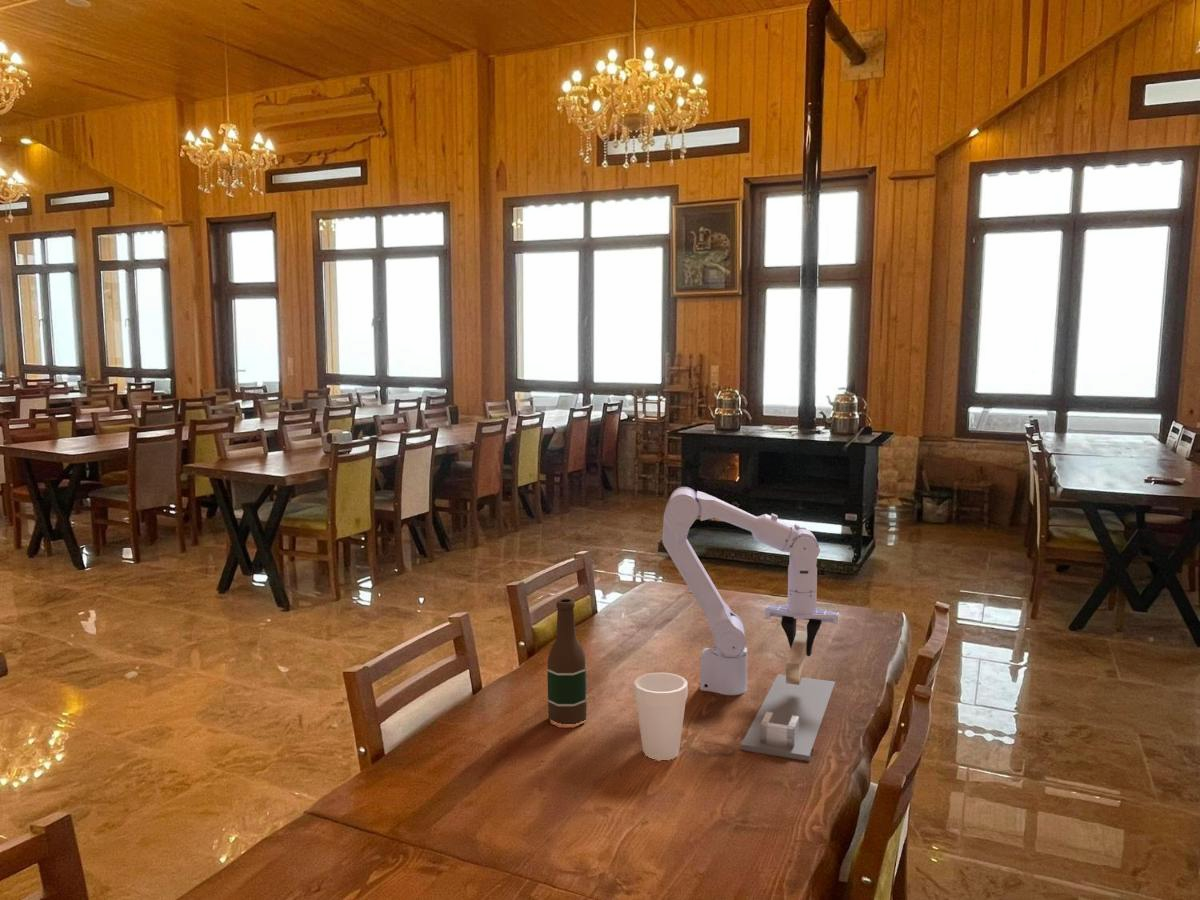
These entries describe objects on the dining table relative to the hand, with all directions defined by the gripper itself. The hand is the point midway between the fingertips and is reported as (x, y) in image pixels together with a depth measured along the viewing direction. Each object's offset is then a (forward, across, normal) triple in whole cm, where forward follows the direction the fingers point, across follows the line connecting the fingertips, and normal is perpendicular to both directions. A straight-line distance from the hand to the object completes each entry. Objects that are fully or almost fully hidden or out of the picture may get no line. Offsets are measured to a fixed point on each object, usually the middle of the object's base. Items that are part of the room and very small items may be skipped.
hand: (801, 653), depth 174 cm
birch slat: (+2, 0, -4) cm, 4 cm away
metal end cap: (+8, 0, -23) cm, 24 cm away
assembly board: (+9, 0, -10) cm, 14 cm away
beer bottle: (+9, -40, -27) cm, 49 cm away
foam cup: (+9, -19, -34) cm, 40 cm away
